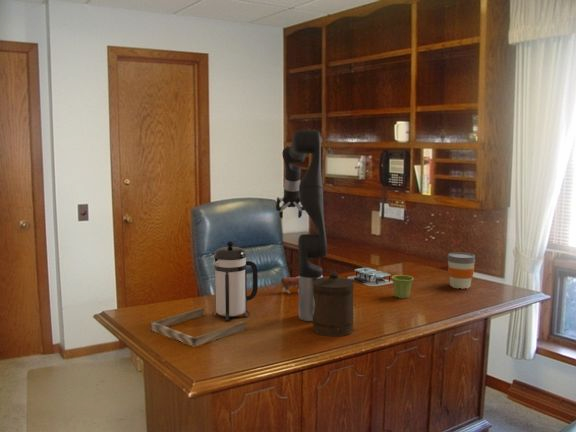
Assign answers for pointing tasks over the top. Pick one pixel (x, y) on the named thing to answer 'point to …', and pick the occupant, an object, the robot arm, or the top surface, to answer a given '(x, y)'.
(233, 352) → the top surface
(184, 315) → the birch stand
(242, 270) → the coffee press
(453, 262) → the reusable coffee cup
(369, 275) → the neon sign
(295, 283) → the bull figurine
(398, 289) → the plant pot
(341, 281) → the wooden container
